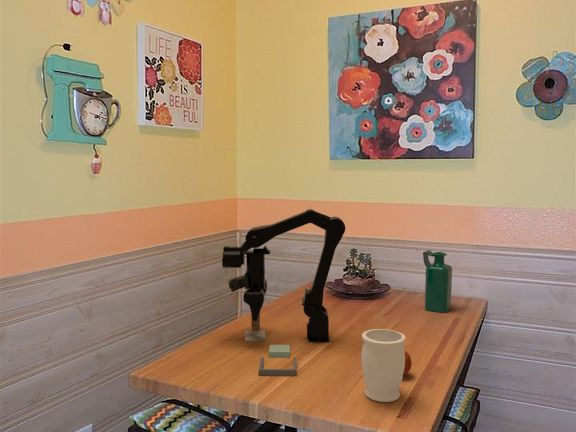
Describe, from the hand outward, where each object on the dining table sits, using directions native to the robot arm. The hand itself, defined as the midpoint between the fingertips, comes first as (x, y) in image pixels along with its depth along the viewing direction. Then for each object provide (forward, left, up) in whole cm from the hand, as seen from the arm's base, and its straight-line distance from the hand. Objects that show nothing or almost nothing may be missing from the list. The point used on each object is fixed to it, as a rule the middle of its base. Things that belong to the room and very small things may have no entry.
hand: (256, 316), depth 169 cm
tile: (-8, +13, -8) cm, 17 cm away
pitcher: (-66, -34, -8) cm, 74 cm away
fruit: (-40, +28, -8) cm, 49 cm away
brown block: (0, +1, -7) cm, 7 cm away
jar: (-34, +40, -8) cm, 53 cm away
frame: (-8, +24, -7) cm, 26 cm away
